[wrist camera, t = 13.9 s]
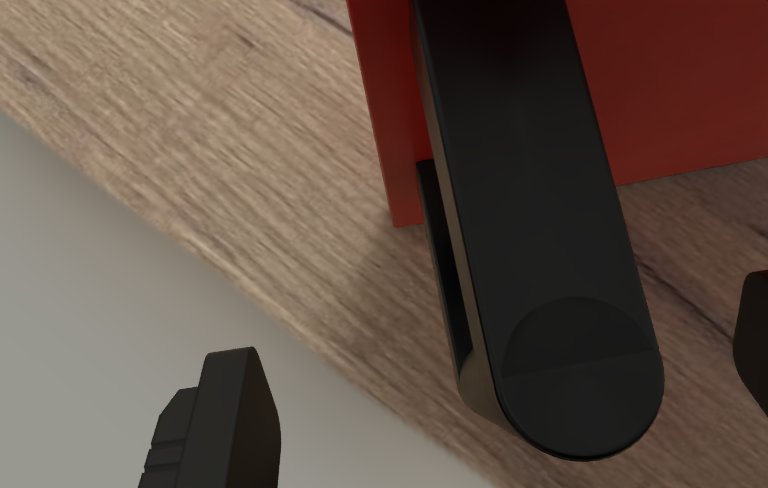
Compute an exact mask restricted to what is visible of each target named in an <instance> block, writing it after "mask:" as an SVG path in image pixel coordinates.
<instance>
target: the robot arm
mask: <svg viewBox="0 0 768 488" xmlns="http://www.w3.org/2000/svg"><path fill="white" fill-rule="evenodd" d="M733 358H734V362H735V366H736V369H737V372H738V374H739V376H740V378H741V380H742V382H743V383H744V385H745V386H746V387H747V389H748V390H749V392H750V393H751V395H752V396H753V397H754V399H755V400H756V402H757V403H758V404H759V406H760V407H761V409H762V410H763V411H764V413H765V414H766V416H767V417H768V270H762V271H755V272H751V273H749V274H748V275H747V276H746V278H745V280H744V284H743V289H742V295H741V300H740V306H739V311H738V317H737V322H736V328H735V333H734V339H733ZM151 446H152V448H151V449H149V452H148V455H147V459H146V462H145V465H144V468H145V472H144V473H142V475H141V479H140V482H139V486H138V488H277V486H278V475H279V464H280V453H281V431H280V422H279V417H278V413H277V409H276V406H275V403H274V400H273V397H272V394H271V391H270V388H269V385H268V382H267V379H266V376H265V373H264V370H263V367H262V364H261V361H260V358H259V355H258V353H257V351H256V349H255V348H254V347H246V348H239V349H232V350H226V351H219V352H213V353H208V354H207V356H206V358H205V361H204V364H203V369H202V372H201V377H200V381H199V385H198V387H192V388H186V389H180V390H178V392H177V393H176V394H175V396H174V397H173V398H172V400H171V401H170V402H169V404H168V405H167V406H166V408H165V409H164V410H163V412H162V413H161V414H160V415H159V419H158V422H157V425H156V428H155V432H154V436H153V439H152V442H151Z"/></svg>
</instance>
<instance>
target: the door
mask: <svg viewBox="0 0 768 488" xmlns="http://www.w3.org/2000/svg"><path fill="white" fill-rule="evenodd" d="M346 3H347V8H348V13H349V18H350V22H351V27H352V32H353V37H354V42H355V46H356V51H357V56H358V61H359V66H360V70H361V75H362V80H363V85H364V89H365V94H366V99H367V104H368V109H369V113H370V118H371V123H372V128H373V132H374V137H375V142H376V147H377V152H378V156H379V161H380V166H381V171H382V176H383V180H384V185H385V190H386V195H387V199H388V204H389V209H390V214H391V219H392V223H393V227H394V228H400V227H405V226H410V225H415V224H421V223H424V225H425V230H426V235H427V240H428V245H429V250H430V255H431V260H432V265H433V270H434V275H435V280H436V285H437V290H438V295H439V300H440V305H441V310H442V315H443V320H444V325H445V330H446V335H447V340H448V345H449V349H450V354H451V359H452V364H453V369H454V374H455V379H456V384H457V388H458V392H459V394H460V396H461V398H462V400H463V401H464V403H465V404H466V405H467V406H468V407H469V408H470V409H471V410H472V411H473V412H475V413H477V414H478V415H480V416H482V417H483V418H485V419H487V420H489V421H490V422H492V423H494V424H495V425H497V426H499V427H501V428H502V429H504V430H506V431H508V432H509V433H511V434H513V435H514V436H516V437H518V438H520V439H521V440H523V441H525V442H527V443H528V444H530V445H532V446H533V447H535V448H537V449H539V450H540V451H542V452H544V453H547V454H549V455H551V456H553V457H557V458H560V459H564V460H570V461H577V462H589V461H598V460H602V459H606V458H610V457H612V456H615V455H617V454H620V453H622V452H623V451H625V450H627V449H628V448H630V447H631V446H633V445H634V444H635V443H636V442H638V441H639V440H640V439H641V438H642V437H643V435H644V434H645V433H646V432H647V431H648V429H649V428H650V427H651V425H652V424H653V422H654V420H655V418H656V416H657V414H658V412H659V409H660V406H661V403H662V399H663V394H664V382H665V378H664V367H663V362H662V357H661V354H660V351H659V347H658V343H657V339H656V335H655V332H654V328H653V324H652V321H651V317H650V313H649V309H648V306H647V302H646V298H645V294H644V291H643V287H642V283H641V279H640V276H639V272H638V268H637V265H636V261H635V257H634V253H633V250H632V246H631V242H630V238H629V235H628V231H627V227H626V224H625V220H624V216H623V212H622V209H621V205H620V201H619V197H618V194H617V190H616V186H618V185H624V184H629V183H634V182H639V181H644V180H650V179H655V178H660V177H665V176H670V175H676V174H681V173H686V172H691V171H696V170H702V169H707V168H712V167H717V166H722V165H728V164H733V163H738V162H743V161H748V160H754V159H759V158H764V157H768V0H346Z"/></svg>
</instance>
